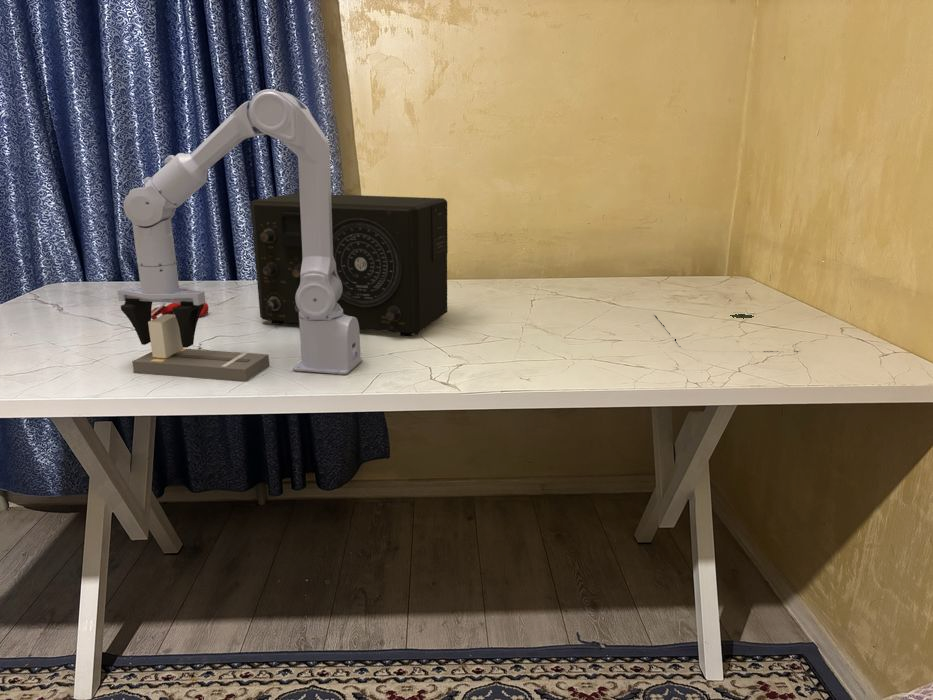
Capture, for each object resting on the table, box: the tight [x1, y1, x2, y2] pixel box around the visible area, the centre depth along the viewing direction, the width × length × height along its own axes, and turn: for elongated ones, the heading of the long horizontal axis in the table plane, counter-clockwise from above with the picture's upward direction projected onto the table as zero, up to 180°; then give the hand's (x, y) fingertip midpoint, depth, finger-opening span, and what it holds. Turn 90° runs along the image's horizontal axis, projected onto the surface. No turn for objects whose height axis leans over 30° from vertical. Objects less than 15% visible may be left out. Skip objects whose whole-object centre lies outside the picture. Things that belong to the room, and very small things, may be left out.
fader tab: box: [148, 313, 183, 358], centre depth 118 cm, size 2×5×6 cm, turn 169°
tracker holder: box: [151, 301, 209, 320], centre depth 150 cm, size 12×4×10 cm
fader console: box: [131, 348, 270, 382], centre depth 118 cm, size 20×8×2 cm, turn 78°
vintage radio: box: [250, 192, 449, 337], centre depth 144 cm, size 38×20×25 cm, turn 72°
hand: (167, 344), depth 118 cm, fingers open, 7 cm apart
